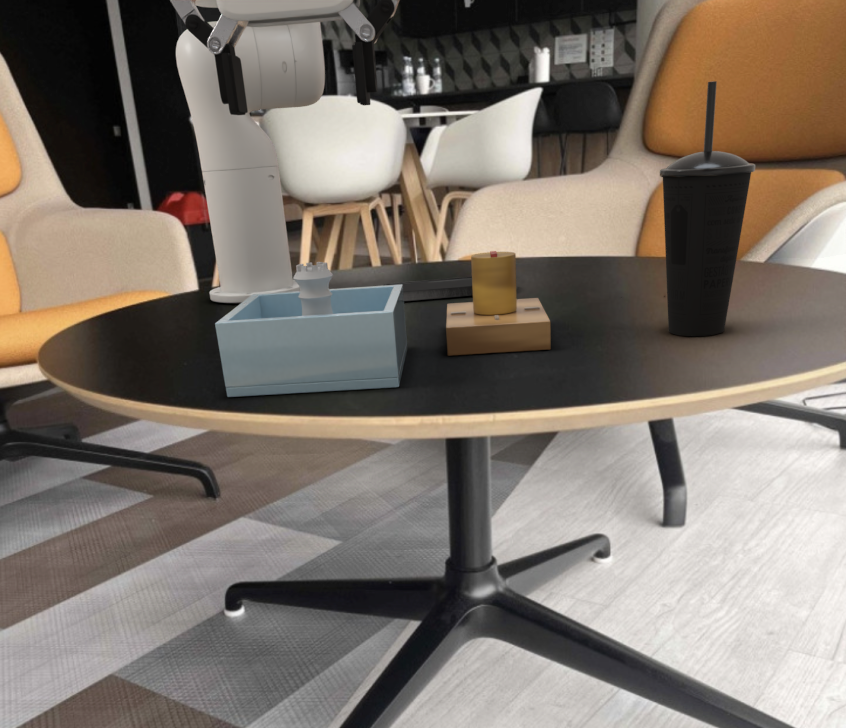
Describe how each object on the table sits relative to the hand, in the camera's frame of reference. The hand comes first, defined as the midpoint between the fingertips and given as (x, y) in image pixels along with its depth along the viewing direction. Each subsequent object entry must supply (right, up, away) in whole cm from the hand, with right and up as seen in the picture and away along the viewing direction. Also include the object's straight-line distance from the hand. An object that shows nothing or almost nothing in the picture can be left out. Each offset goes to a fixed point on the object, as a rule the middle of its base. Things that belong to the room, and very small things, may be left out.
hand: (301, 109), depth 66 cm
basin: (+1, -18, +8) cm, 20 cm away
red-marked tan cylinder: (+16, -12, +14) cm, 24 cm away
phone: (+12, -2, +41) cm, 43 cm away
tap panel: (+16, -14, +15) cm, 26 cm away
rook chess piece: (+1, -18, +8) cm, 19 cm away
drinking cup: (+34, -14, +13) cm, 39 cm away
